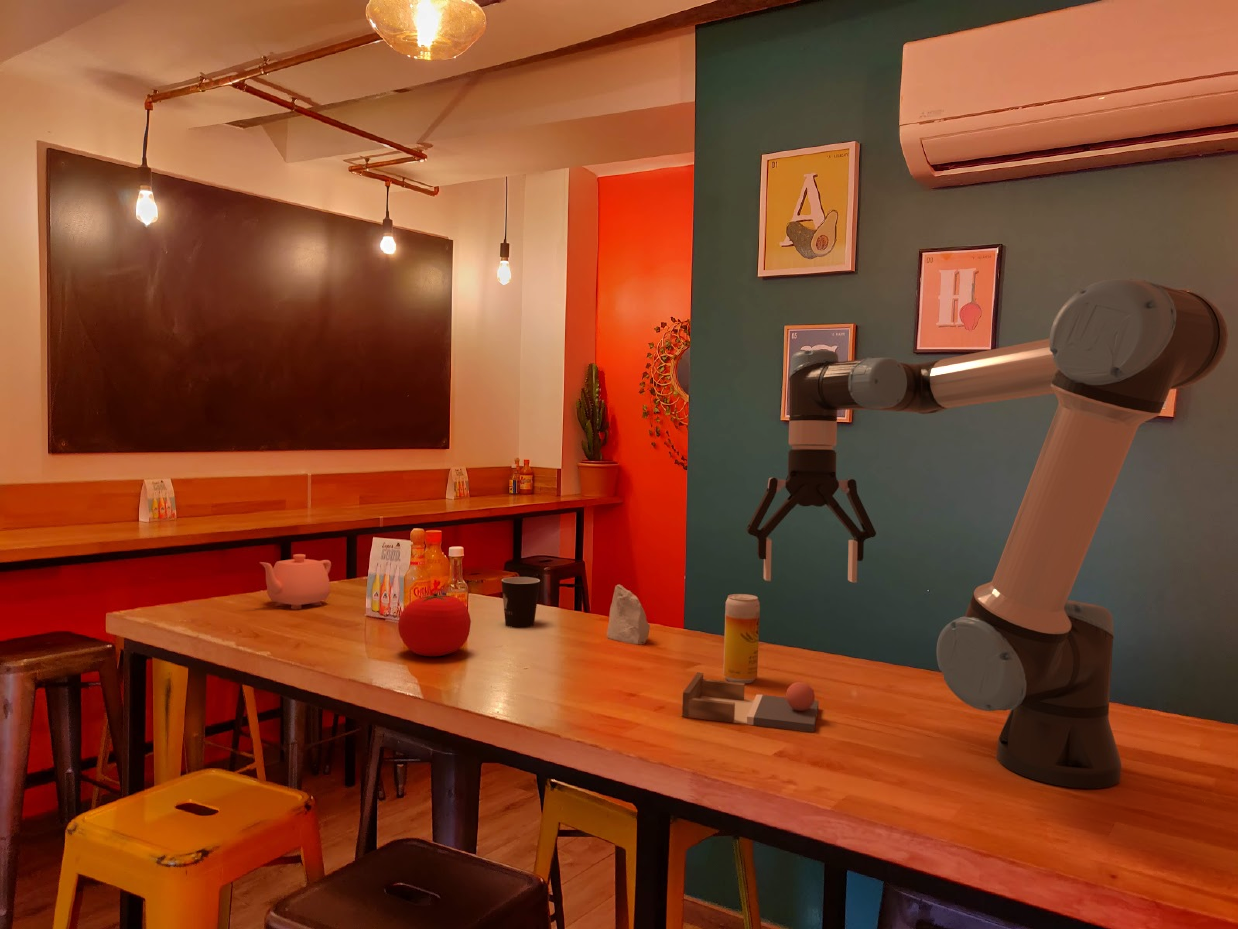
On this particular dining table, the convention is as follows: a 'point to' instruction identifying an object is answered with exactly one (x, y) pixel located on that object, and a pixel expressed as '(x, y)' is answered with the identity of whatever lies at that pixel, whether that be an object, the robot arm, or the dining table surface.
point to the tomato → (434, 625)
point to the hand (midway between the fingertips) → (809, 580)
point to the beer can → (741, 638)
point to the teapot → (298, 581)
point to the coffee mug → (520, 601)
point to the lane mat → (772, 713)
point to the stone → (627, 618)
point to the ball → (800, 696)
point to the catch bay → (711, 708)
